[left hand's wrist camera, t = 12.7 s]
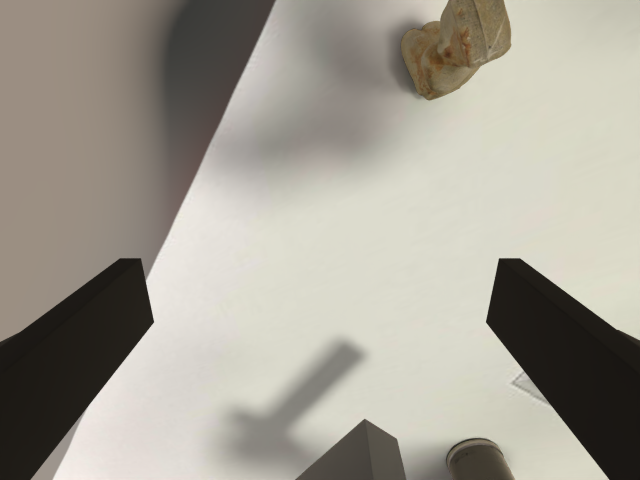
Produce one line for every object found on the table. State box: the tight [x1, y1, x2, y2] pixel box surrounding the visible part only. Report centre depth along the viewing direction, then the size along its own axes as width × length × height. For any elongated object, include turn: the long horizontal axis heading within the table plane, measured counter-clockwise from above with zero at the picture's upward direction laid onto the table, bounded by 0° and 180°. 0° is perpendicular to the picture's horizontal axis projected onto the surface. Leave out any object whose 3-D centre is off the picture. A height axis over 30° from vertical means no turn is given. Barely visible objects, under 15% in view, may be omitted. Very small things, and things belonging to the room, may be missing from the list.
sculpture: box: [401, 0, 511, 100], centre depth 30 cm, size 6×7×15 cm
